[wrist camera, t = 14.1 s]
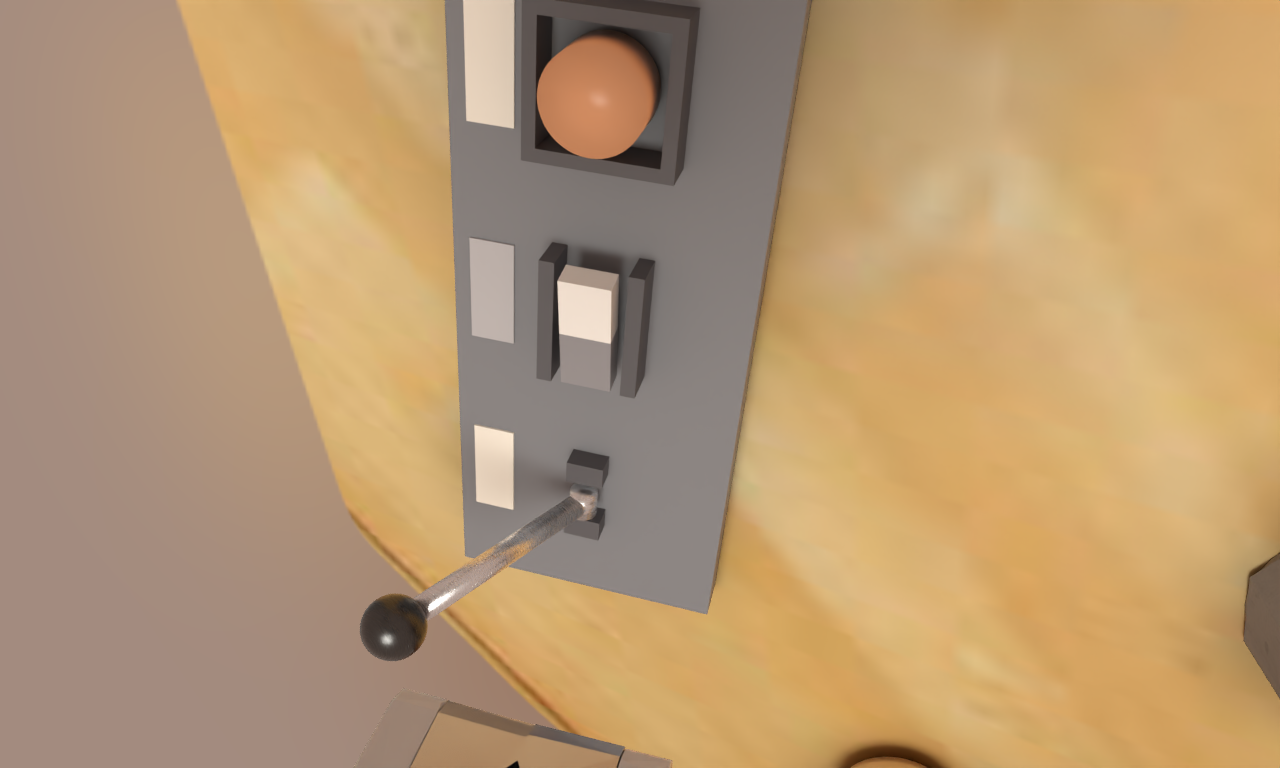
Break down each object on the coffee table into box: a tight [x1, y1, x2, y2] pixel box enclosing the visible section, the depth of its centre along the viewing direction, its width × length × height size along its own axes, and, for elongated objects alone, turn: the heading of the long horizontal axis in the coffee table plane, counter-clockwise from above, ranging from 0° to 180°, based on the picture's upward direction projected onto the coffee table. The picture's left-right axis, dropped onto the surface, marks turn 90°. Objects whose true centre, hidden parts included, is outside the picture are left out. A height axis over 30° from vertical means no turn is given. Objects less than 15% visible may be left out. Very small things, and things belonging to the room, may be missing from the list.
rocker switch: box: [557, 265, 619, 392], centre depth 37 cm, size 5×2×1 cm, turn 176°
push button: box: [537, 30, 661, 159], centre depth 32 cm, size 4×4×2 cm
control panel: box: [445, 0, 812, 614], centre depth 38 cm, size 30×12×4 cm, turn 176°
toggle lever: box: [360, 483, 598, 661], centre depth 39 cm, size 2×2×12 cm
